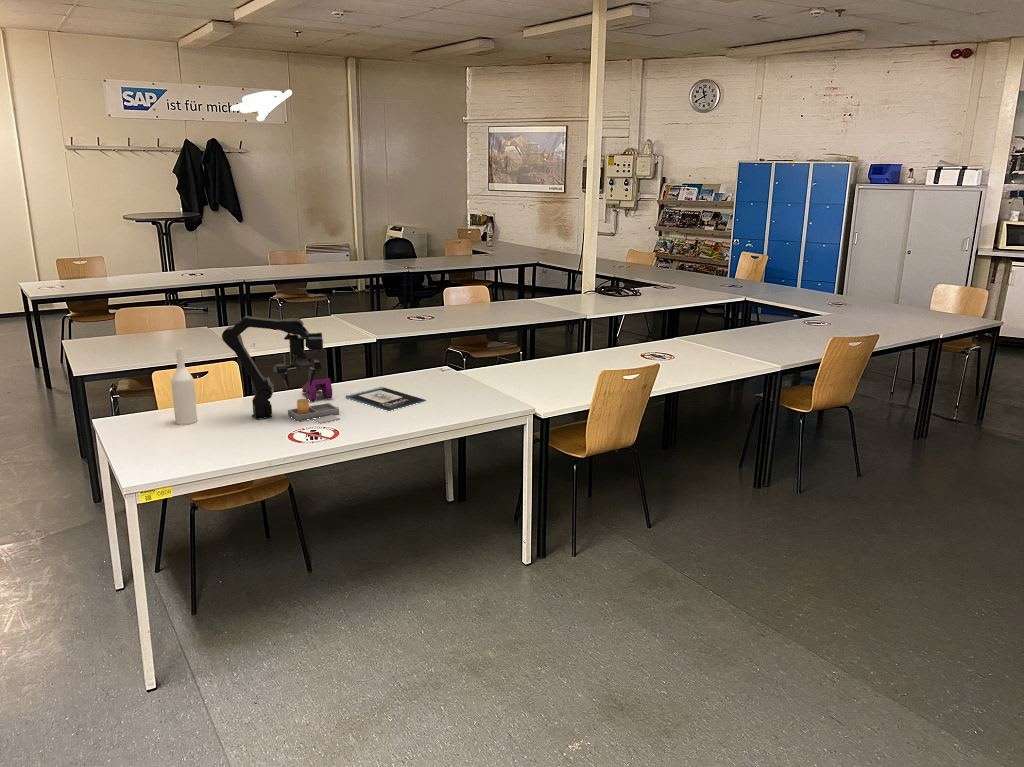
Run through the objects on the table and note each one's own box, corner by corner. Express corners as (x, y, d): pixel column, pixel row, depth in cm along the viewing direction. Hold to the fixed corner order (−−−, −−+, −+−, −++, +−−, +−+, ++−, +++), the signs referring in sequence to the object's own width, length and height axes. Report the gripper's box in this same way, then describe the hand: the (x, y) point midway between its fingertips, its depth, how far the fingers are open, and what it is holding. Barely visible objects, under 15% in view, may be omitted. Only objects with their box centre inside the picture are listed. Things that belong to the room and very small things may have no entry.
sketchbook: (388, 413, 321) (388, 408, 320) (344, 399, 340) (344, 395, 339) (426, 402, 337) (426, 398, 336) (381, 389, 356) (381, 385, 355)
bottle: (199, 418, 308) (192, 345, 301) (194, 424, 301) (187, 350, 293) (178, 419, 307) (170, 346, 299) (173, 425, 299) (165, 350, 292)
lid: (320, 425, 304) (320, 422, 303) (312, 422, 308) (312, 419, 307) (340, 420, 310) (340, 418, 309) (332, 417, 314) (331, 414, 313)
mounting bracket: (302, 407, 346) (312, 399, 330) (299, 389, 347) (308, 380, 331) (323, 404, 350) (333, 396, 335) (320, 386, 351) (330, 378, 336)
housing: (297, 421, 306) (296, 416, 305) (288, 415, 313) (287, 409, 313) (339, 414, 316) (338, 408, 315) (329, 408, 324) (328, 402, 323)
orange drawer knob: (299, 417, 308) (298, 403, 307) (295, 414, 312) (294, 400, 311) (312, 415, 311) (311, 401, 310) (307, 411, 315) (306, 397, 314)
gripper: (280, 356, 296) (283, 395, 300) (326, 351, 306) (328, 388, 310) (271, 350, 305) (273, 388, 309) (316, 346, 315) (318, 382, 319)
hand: (299, 387), depth 312 cm, fingers open, 9 cm apart
